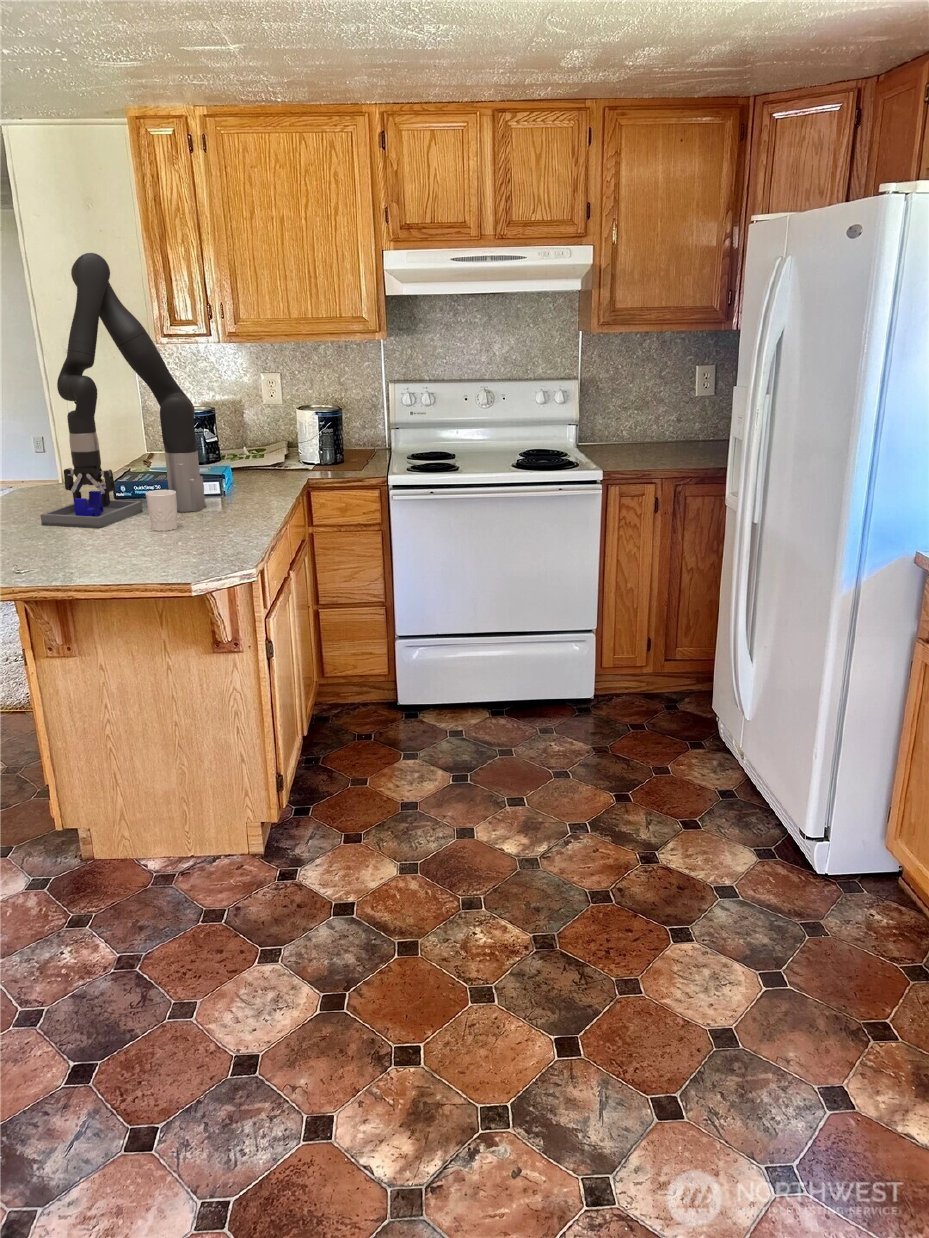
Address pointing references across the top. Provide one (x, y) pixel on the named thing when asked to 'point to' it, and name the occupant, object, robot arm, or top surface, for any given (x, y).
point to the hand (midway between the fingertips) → (92, 505)
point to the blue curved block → (89, 505)
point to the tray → (108, 516)
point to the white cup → (162, 509)
